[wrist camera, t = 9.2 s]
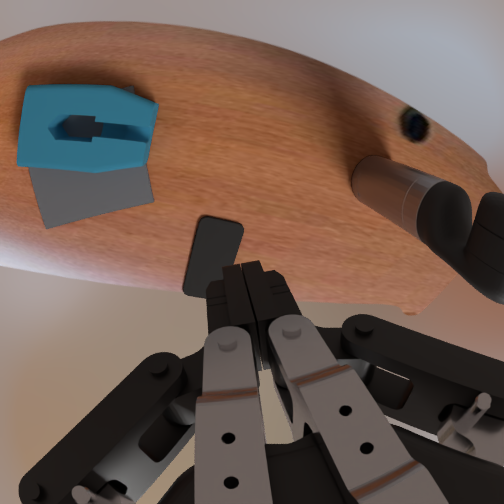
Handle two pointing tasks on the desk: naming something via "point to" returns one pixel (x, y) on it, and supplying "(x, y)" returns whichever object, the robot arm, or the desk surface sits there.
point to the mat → (87, 183)
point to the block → (80, 148)
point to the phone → (211, 253)
